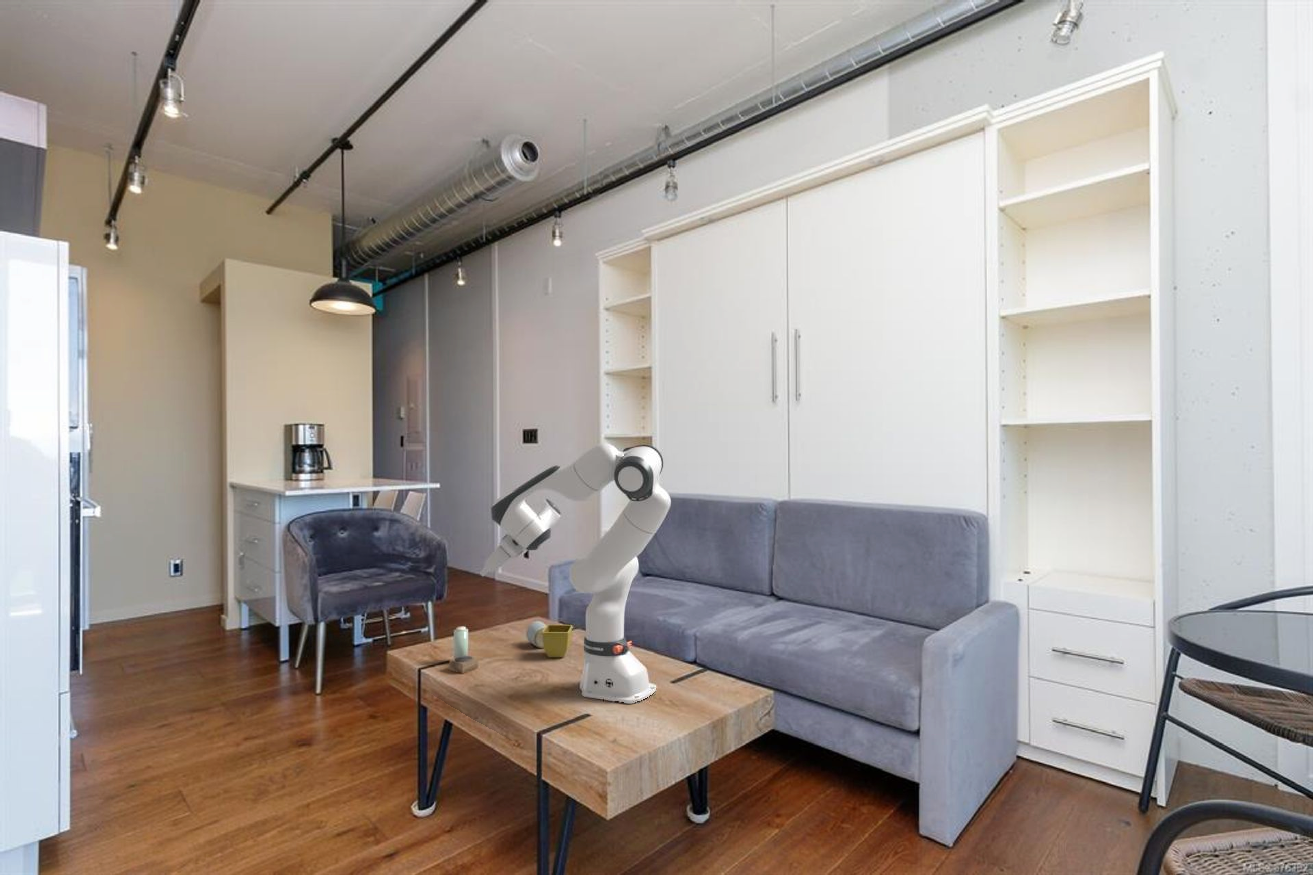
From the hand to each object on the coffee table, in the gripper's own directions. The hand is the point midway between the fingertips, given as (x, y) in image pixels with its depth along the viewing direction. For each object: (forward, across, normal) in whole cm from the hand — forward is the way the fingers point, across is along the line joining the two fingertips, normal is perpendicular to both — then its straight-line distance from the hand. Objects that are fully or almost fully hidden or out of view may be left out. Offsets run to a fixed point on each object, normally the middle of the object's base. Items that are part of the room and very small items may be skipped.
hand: (486, 569), depth 200 cm
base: (+26, +4, +18) cm, 32 cm away
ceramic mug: (+15, -22, +33) cm, 43 cm away
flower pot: (+9, -11, +37) cm, 40 cm away
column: (+29, -3, +16) cm, 33 cm away
